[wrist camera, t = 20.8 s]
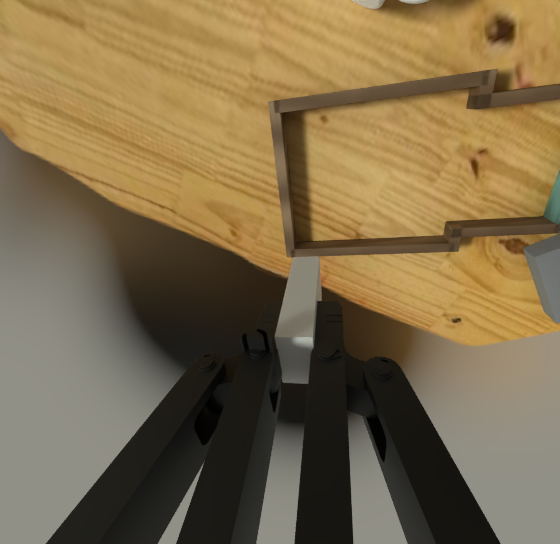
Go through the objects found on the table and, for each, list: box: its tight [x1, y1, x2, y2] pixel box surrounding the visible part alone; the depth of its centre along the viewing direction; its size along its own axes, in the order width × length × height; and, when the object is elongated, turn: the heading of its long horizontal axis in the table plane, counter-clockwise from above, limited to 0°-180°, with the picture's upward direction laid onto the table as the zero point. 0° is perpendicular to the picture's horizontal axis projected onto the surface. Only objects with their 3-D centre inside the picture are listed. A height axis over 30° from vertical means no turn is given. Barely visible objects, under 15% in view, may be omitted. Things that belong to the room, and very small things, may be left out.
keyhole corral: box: [268, 69, 560, 257], centre depth 34 cm, size 19×33×2 cm, turn 97°
